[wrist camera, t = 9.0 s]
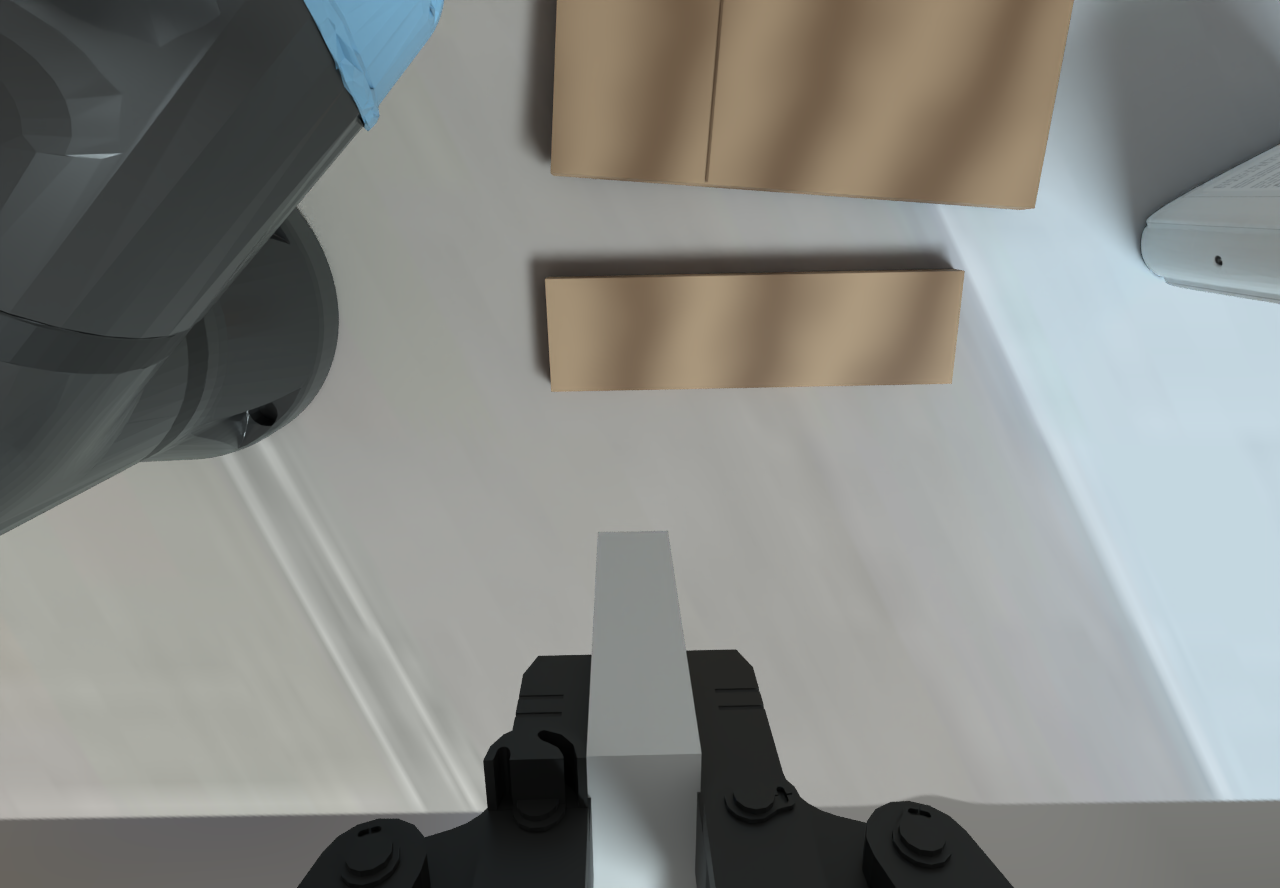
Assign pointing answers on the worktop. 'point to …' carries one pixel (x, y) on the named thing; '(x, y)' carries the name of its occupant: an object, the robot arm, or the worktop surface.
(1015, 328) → the worktop surface
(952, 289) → the plank
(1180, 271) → the photo printer
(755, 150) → the plank
